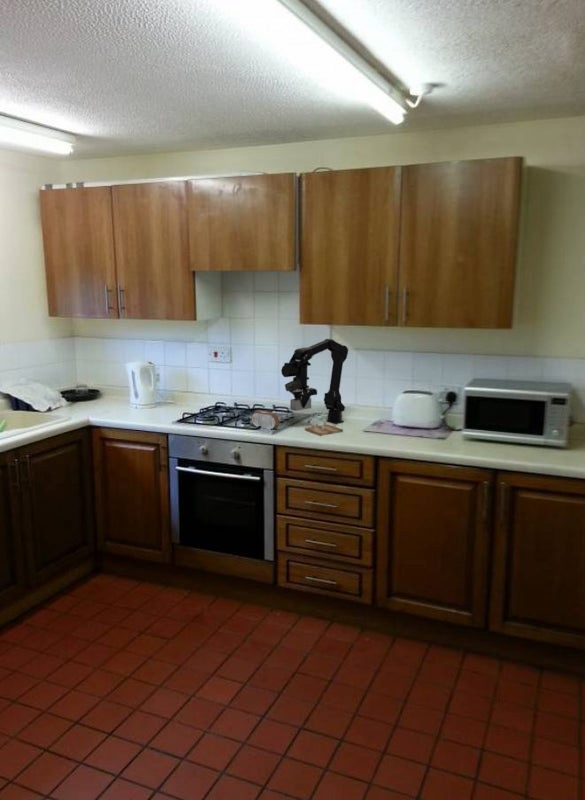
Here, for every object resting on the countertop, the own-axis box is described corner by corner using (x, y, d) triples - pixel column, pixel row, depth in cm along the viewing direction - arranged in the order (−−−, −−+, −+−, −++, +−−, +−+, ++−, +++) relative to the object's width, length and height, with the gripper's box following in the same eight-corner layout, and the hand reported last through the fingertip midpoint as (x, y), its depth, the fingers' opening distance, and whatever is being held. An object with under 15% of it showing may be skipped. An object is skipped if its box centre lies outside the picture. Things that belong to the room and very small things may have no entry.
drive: (305, 406, 318) (305, 396, 317) (311, 408, 315) (311, 398, 314) (290, 409, 311) (290, 399, 310) (295, 411, 308) (296, 400, 307)
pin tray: (327, 426, 319) (327, 419, 318) (342, 431, 309) (343, 424, 309) (304, 430, 311) (304, 422, 310) (320, 435, 301) (320, 428, 301)
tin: (279, 429, 311) (279, 412, 310) (276, 431, 309) (276, 414, 307) (253, 425, 319) (253, 409, 317) (250, 426, 316) (250, 410, 314)
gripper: (276, 373, 312) (276, 405, 315) (299, 379, 297) (298, 412, 301) (295, 372, 319) (294, 402, 322) (318, 377, 304) (317, 409, 307)
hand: (300, 406), depth 313 cm, fingers closed on drive, 4 cm apart
